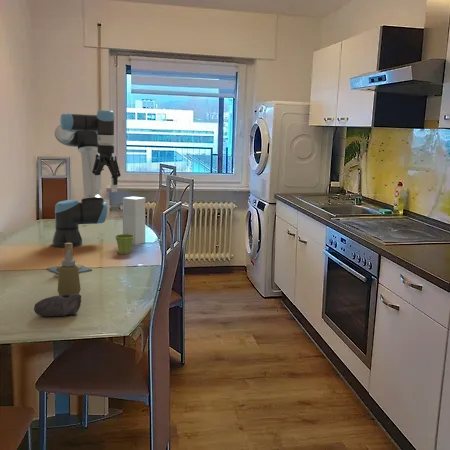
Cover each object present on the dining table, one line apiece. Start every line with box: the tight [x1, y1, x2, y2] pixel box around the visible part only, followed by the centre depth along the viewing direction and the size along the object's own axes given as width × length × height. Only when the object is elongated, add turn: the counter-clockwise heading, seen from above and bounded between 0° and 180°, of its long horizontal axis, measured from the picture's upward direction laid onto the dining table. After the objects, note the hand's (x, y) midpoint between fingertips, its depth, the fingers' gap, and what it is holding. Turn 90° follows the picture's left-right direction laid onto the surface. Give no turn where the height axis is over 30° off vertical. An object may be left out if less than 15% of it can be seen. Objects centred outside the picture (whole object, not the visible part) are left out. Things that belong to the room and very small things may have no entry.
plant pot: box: [114, 233, 134, 255], centre depth 256 cm, size 9×9×9 cm
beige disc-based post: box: [56, 243, 82, 270], centre depth 222 cm, size 10×10×11 cm
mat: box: [46, 264, 93, 276], centre depth 223 cm, size 14×14×1 cm
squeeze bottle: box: [57, 250, 81, 295], centre depth 184 cm, size 8×8×18 cm
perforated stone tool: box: [33, 293, 82, 318], centre depth 168 cm, size 15×5×7 cm, turn 107°
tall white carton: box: [122, 195, 146, 246], centre depth 278 cm, size 9×9×25 cm
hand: (106, 190), depth 239 cm, fingers open, 13 cm apart
